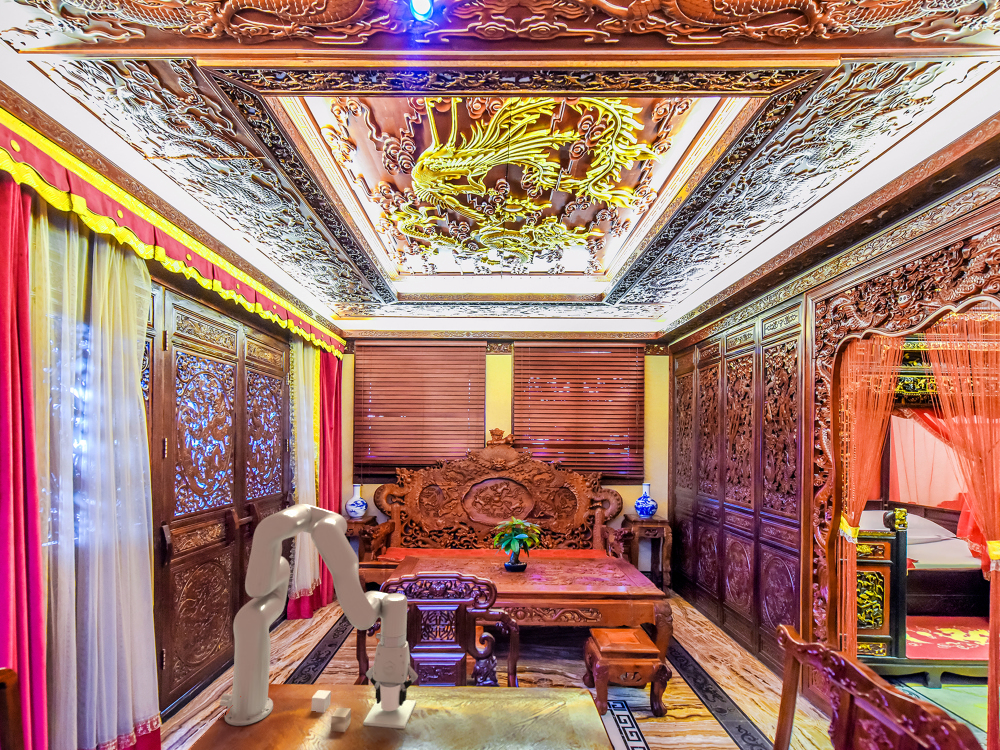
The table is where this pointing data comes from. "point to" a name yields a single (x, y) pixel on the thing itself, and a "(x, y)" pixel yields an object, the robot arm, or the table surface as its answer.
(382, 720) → the cream pad
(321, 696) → the off-white plastic block
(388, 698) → the white rounded piece
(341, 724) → the birch block
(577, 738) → the table surface
